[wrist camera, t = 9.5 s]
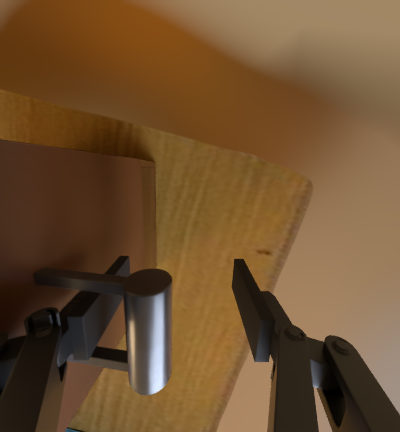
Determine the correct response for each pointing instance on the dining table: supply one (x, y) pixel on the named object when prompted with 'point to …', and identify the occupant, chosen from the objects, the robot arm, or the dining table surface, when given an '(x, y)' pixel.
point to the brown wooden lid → (82, 259)
